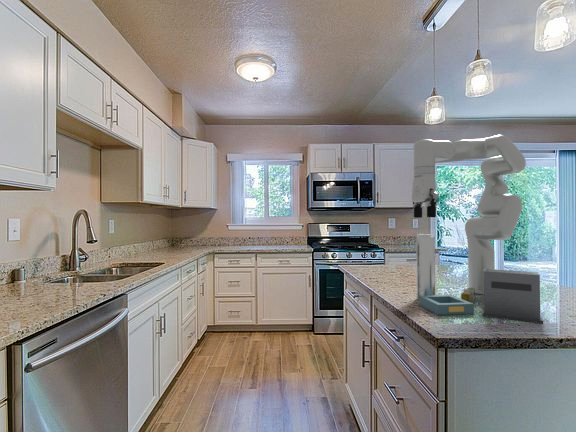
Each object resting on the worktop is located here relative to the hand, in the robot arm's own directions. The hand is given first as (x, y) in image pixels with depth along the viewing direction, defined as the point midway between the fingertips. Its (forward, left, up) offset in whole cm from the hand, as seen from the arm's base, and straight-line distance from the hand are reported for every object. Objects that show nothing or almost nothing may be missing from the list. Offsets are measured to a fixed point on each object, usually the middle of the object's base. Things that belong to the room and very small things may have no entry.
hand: (424, 217), depth 121 cm
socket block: (+1, +14, -31) cm, 34 cm away
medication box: (-15, +3, -32) cm, 35 cm away
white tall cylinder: (0, 0, -32) cm, 32 cm away
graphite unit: (-15, +23, -31) cm, 42 cm away
